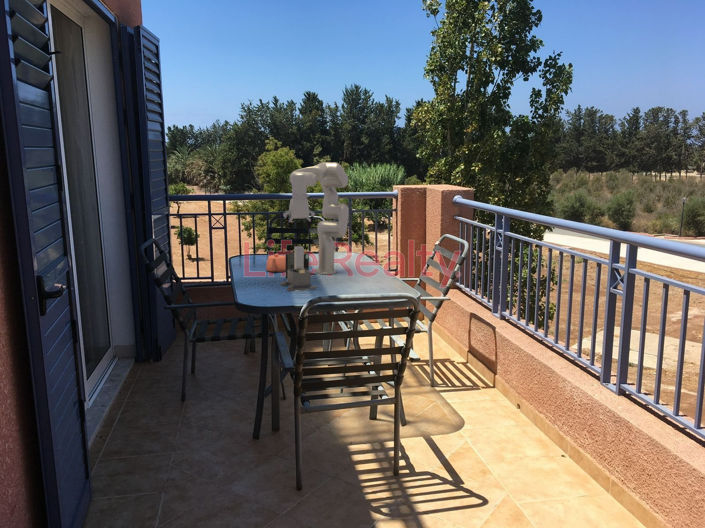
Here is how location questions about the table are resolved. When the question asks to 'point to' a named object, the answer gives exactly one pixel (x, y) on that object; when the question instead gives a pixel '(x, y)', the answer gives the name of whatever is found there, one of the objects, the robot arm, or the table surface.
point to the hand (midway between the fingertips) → (299, 228)
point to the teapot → (276, 263)
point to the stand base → (298, 280)
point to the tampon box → (291, 261)
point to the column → (298, 258)
